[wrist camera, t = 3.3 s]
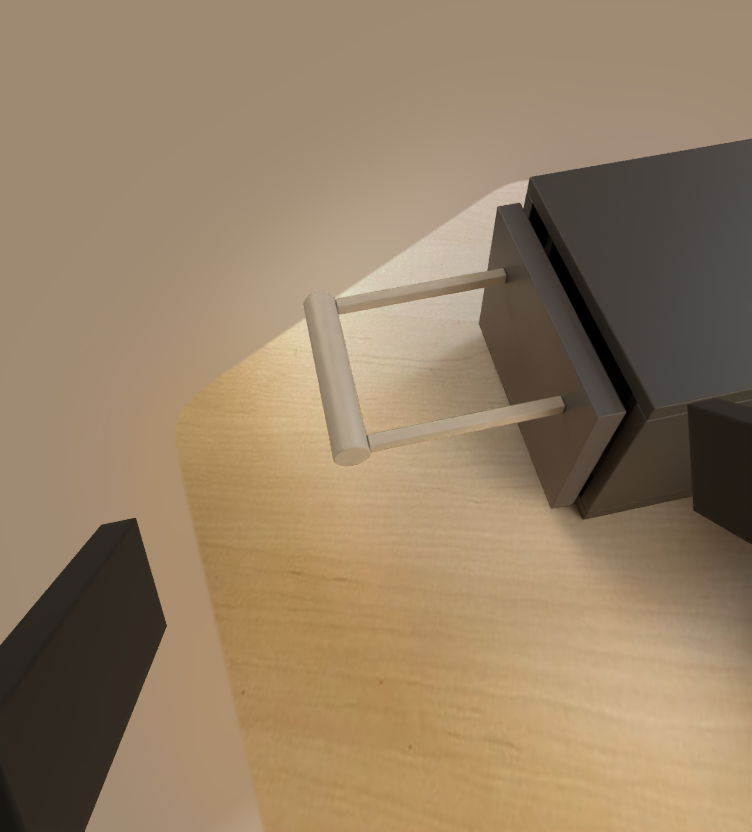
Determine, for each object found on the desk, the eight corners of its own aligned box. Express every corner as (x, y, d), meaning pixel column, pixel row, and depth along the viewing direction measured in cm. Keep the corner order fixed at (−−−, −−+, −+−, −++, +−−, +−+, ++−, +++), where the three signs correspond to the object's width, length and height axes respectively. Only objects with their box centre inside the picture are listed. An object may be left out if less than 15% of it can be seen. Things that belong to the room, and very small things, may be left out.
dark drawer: (352, 552, 30) (335, 471, 23) (314, 355, 37) (290, 242, 29) (798, 455, 32) (918, 351, 25) (685, 284, 39) (753, 161, 31)
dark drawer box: (582, 520, 32) (654, 409, 23) (500, 321, 39) (529, 176, 30) (844, 463, 33) (1014, 335, 24) (717, 280, 40) (810, 127, 31)
